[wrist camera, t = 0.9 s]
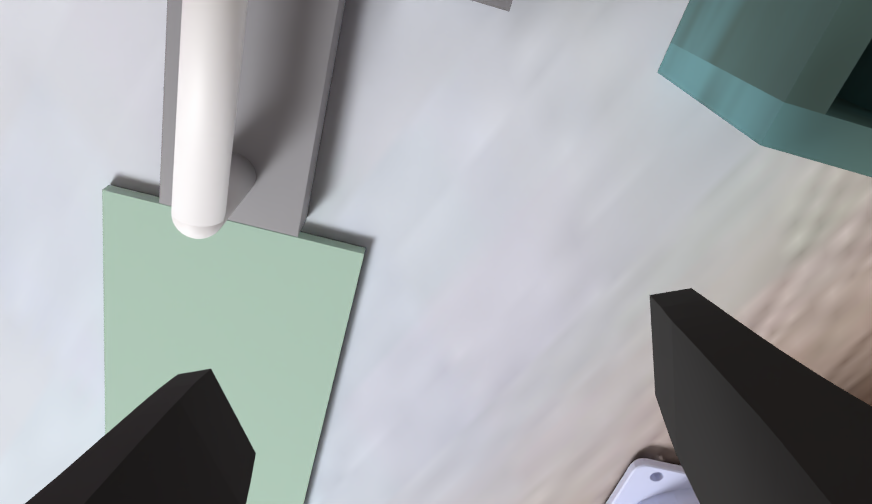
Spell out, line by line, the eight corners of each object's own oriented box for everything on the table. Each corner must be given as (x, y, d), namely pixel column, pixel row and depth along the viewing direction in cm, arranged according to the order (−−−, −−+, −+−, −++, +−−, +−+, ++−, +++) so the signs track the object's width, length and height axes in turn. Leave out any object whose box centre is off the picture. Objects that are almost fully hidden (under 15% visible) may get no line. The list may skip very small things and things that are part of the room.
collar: (942, -77, 14) (1241, -80, 9) (822, 121, 16) (998, 213, 11) (753, -143, 13) (949, -187, 8) (657, 72, 16) (759, 144, 10)
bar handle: (562, -180, 13) (607, -224, 9) (430, 249, 19) (424, 334, 15) (203, -302, 12) (90, -406, 8) (176, 186, 18) (100, 258, 14)
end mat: (365, 247, 19) (363, 254, 18) (299, 519, 25) (297, 527, 25) (109, 184, 18) (102, 189, 17) (110, 482, 24) (105, 491, 24)
